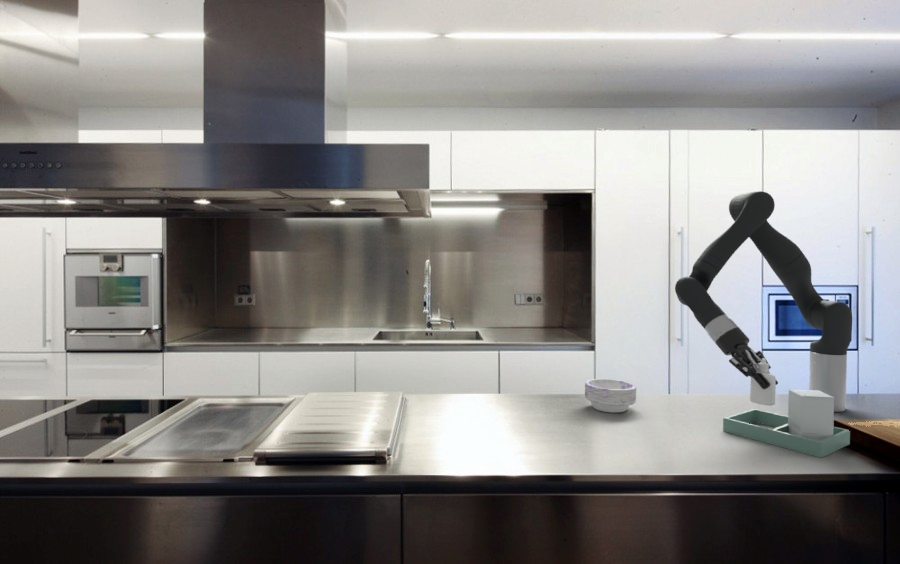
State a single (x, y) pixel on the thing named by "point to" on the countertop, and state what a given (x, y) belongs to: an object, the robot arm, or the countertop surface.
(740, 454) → the countertop surface
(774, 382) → the eye dropper bottle
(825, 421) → the supplement box
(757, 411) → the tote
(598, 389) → the paper bowls
